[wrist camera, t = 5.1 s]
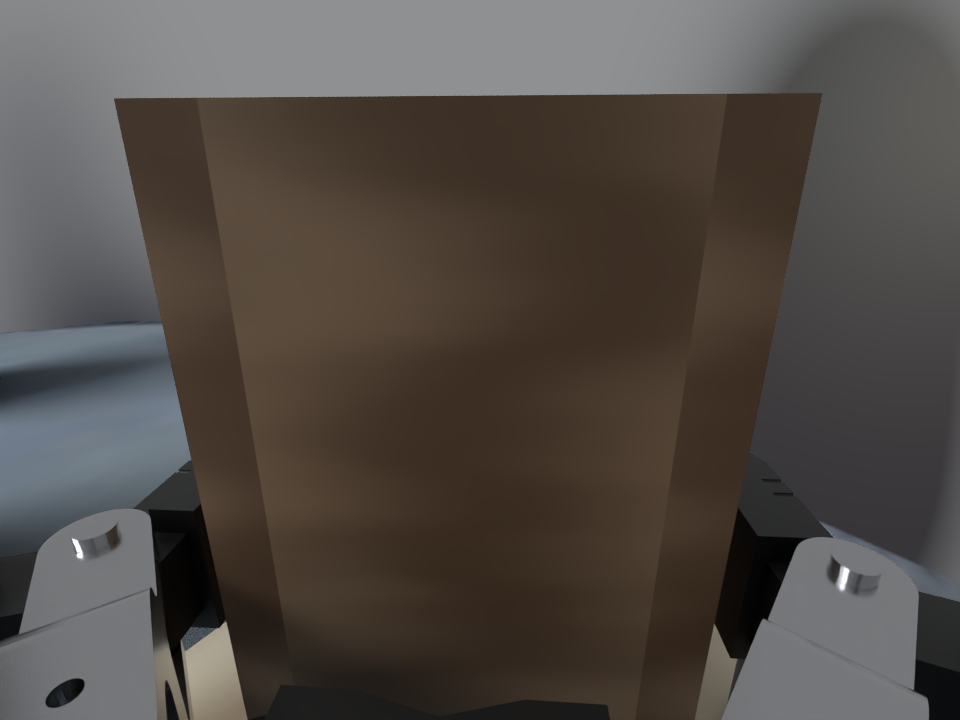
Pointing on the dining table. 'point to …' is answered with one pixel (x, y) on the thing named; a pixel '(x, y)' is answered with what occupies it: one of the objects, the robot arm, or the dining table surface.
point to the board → (226, 716)
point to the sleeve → (470, 378)
